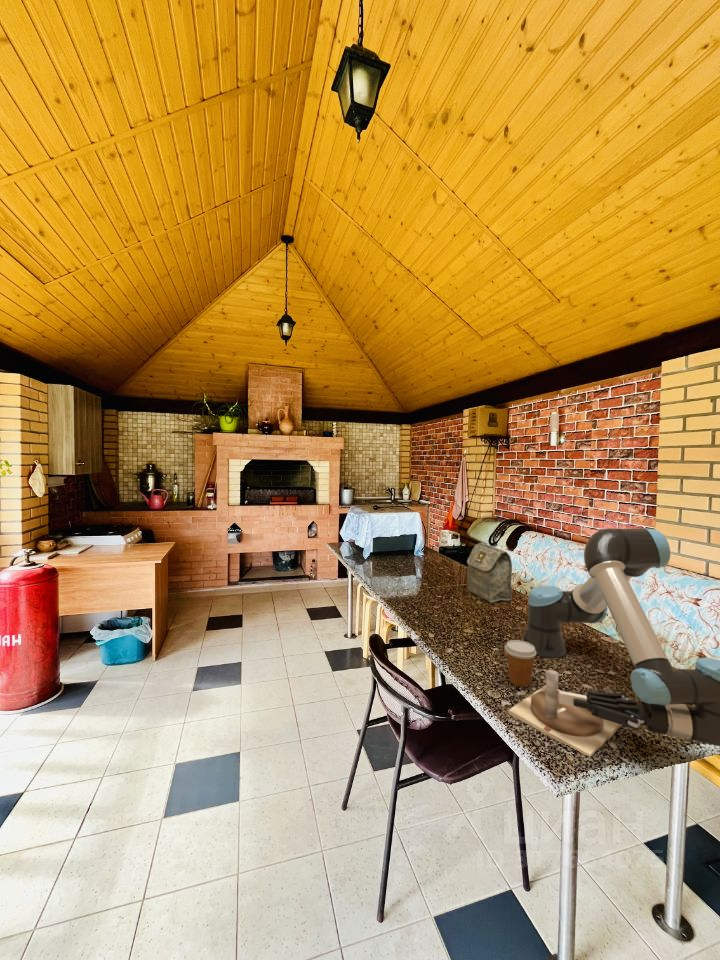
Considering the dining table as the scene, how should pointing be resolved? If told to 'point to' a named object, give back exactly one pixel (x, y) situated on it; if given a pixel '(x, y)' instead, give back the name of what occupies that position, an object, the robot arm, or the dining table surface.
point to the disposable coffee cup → (520, 662)
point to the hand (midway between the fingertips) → (559, 696)
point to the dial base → (577, 742)
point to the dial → (562, 711)
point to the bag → (489, 573)
